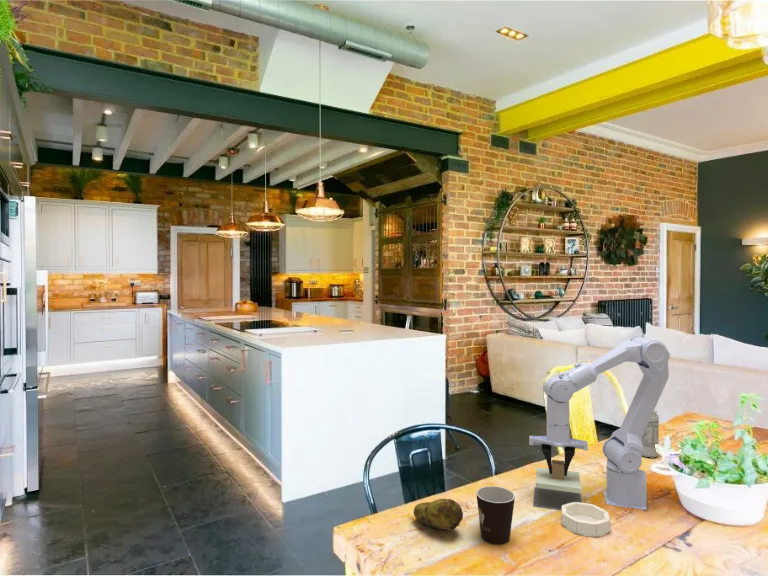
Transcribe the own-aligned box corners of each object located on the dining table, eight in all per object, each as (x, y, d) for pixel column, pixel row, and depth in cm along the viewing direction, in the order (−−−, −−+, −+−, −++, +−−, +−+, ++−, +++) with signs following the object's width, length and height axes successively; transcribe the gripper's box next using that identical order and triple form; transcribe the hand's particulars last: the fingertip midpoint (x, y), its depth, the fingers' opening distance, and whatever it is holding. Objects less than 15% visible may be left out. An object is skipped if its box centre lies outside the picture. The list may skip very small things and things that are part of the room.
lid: (578, 476, 133) (579, 457, 133) (581, 493, 123) (581, 473, 123) (536, 471, 137) (536, 452, 137) (535, 487, 126) (535, 467, 126)
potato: (438, 513, 124) (438, 482, 123) (468, 538, 112) (468, 503, 112) (409, 520, 120) (409, 488, 120) (437, 546, 108) (437, 511, 108)
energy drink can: (656, 453, 164) (657, 409, 164) (659, 460, 158) (660, 414, 158) (636, 451, 166) (637, 407, 166) (638, 457, 161) (639, 412, 160)
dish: (606, 519, 120) (606, 506, 120) (611, 541, 110) (611, 526, 110) (561, 513, 123) (561, 499, 123) (562, 533, 113) (562, 519, 113)
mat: (580, 494, 134) (580, 493, 134) (583, 514, 122) (583, 513, 122) (534, 488, 138) (534, 487, 138) (533, 507, 126) (533, 506, 126)
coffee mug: (515, 549, 107) (516, 504, 107) (475, 545, 109) (476, 501, 109) (512, 523, 118) (512, 482, 118) (476, 519, 120) (476, 479, 120)
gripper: (528, 424, 128) (528, 476, 128) (588, 429, 123) (588, 483, 124) (529, 417, 135) (529, 466, 135) (586, 421, 130) (586, 472, 130)
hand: (558, 473), depth 130 cm, fingers closed on lid, 3 cm apart
